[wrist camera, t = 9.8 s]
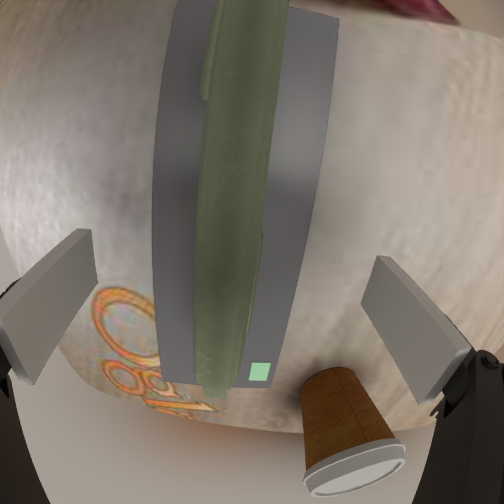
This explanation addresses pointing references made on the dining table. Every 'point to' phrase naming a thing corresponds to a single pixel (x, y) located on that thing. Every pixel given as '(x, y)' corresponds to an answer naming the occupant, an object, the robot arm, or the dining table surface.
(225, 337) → the handheld radio
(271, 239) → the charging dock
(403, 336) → the robot arm
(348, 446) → the disposable coffee cup
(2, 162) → the dining table surface
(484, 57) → the dining table surface
